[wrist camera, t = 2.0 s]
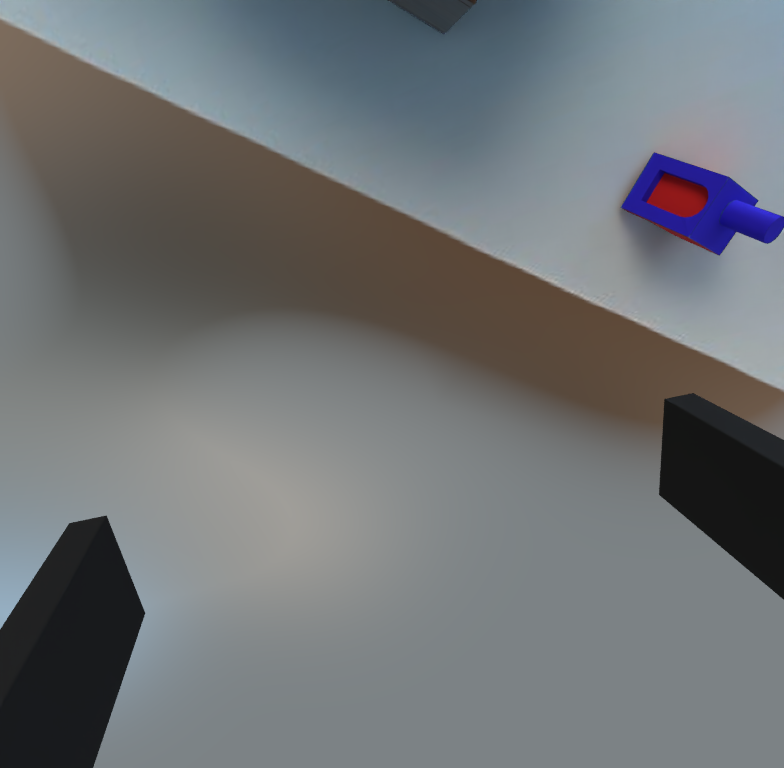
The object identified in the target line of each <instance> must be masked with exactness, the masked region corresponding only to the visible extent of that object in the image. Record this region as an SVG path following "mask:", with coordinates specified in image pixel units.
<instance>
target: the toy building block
mask: <svg viewBox="0 0 784 768" xmlns="http://www.w3.org/2000/svg"><path fill="white" fill-rule="evenodd" d="M757 202H758V200H757V199H756V198H755V197H753V196H752V195H751V194H750V193H748V192H747V191H746V190H745V189H743V188H742V187H741V186H740V185H738V184H737V183H736V182H735V181H733V180H732V179H731V178H730V177H727V176H724V175H721V174H718V173H715V172H712V171H709V170H706V169H703V168H700V167H697V166H694V165H691V164H688V163H685V162H682V161H679V160H676V159H673V158H670V157H666V156H663V155H660V154H657V153H653V155H652V156H651V158H650V160H649V161H648V163H647V165H646V166H645V168H644V170H643V171H642V173H641V175H640V176H639V178H638V180H637V181H636V183H635V185H634V186H633V188H632V190H631V191H630V193H629V195H628V196H627V198H626V200H625V201H624V203H623V204H622V206H621V208H622V209H624V210H626V211H627V212H630V213H632V214H634V215H636V216H639V217H641V218H643V219H645V220H648V221H650V222H651V223H653V224H655V225H657V226H659V227H660V228H662V229H664V230H666V231H667V232H669V233H671V234H673V235H675V236H677V237H679V238H681V239H684V240H686V241H688V242H690V243H693V244H695V245H697V246H699V247H701V248H704V249H706V250H708V251H710V252H713V253H715V254H717V255H719V256H720V254H721V253H722V251H723V250H724V249H725V247H726V246H727V244H728V243H729V241H730V240H731V239H732V237H733V236H734V234H735V233H736V232H739V233H741V234H744V235H746V236H749V237H751V238H754V239H756V240H759V241H761V242H764V243H767V244H768V243H771V242H772V241H774V240H775V239H776V238H777V237H778V236H779V234H780V233H781V232H782V230H783V228H784V217H783V216H780V215H777V214H774V213H771V212H769V211H766V210H763V209H760V208H757V207H755V205H756V203H757Z"/></svg>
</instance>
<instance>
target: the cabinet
mask: <svg viewBox="0 0 784 768" xmlns="http://www.w3.org/2000/svg"><path fill="white" fill-rule="evenodd" d="M388 1H390V2H391V3H393V4H395V5H396V6H398V7H400V8H401V9H403V10H404V11H406V12H408V13H409V14H411V15H413V16H414V17H416V18H417V19H419V20H421V21H422V22H424V23H426V24H427V25H429V26H431V27H432V28H434V29H435V30H437V31H439V32H440V33H442V34H445V33H447V32H448V31H449V30H450V29H451V28H452V27H453V26H454V25H455V24H456V23H457V21H458V20H459V19H460V18H461V17H462V16H463V15H464V14H465V13H466V12H467V11H468V10H469V9H470V8H471V7H472V6H473V5H474V4H475V3H476V1H477V0H388Z"/></svg>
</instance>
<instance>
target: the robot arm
mask: <svg viewBox="0 0 784 768" xmlns="http://www.w3.org/2000/svg"><path fill="white" fill-rule="evenodd" d="M664 401H665V402H664V418H663V436H662V453H661V471H660V488H659V495H660V496H661V497H662V498H664V499H665V500H666V501H667V502H668V503H670V504H671V505H672V506H673V507H674V508H676V509H677V510H678V511H679V512H680V513H681V514H683V515H684V516H685V517H686V518H687V519H689V520H690V521H691V522H692V523H694V524H695V525H696V526H697V527H698V528H699V529H701V530H702V531H703V532H704V533H705V534H707V535H708V536H709V537H710V538H712V540H714V541H715V542H716V543H717V544H718V545H720V546H721V547H722V548H723V549H724V550H725V551H727V552H728V553H729V554H730V555H731V556H733V557H734V558H735V559H736V560H737V561H738V562H740V563H741V564H742V565H743V566H744V567H746V568H747V569H748V570H749V571H750V572H752V573H753V574H754V575H755V576H756V577H758V578H759V579H760V580H761V581H762V582H763V583H765V584H766V585H767V586H768V587H769V588H771V589H772V590H773V591H774V592H775V593H777V594H778V595H779V596H780V597H782V598H783V599H784V440H782V439H780V438H779V437H776V436H775V435H773V434H771V433H769V432H767V431H765V430H763V429H761V428H759V427H757V426H755V425H753V424H751V423H750V422H748V421H746V420H744V419H742V418H740V417H738V416H736V415H734V414H732V413H730V412H728V411H727V410H725V409H723V408H721V407H719V406H717V405H715V404H713V403H711V402H709V401H707V400H705V399H703V398H701V397H700V396H698V395H696V394H694V393H692V394H688V395H682V396H677V397H673V398H668V399H665V400H664ZM144 615H145V612H144V609H143V607H142V604H141V602H140V599H139V596H138V594H137V591H136V589H135V586H134V584H133V582H132V579H131V576H130V574H129V572H128V569H127V566H126V564H125V561H124V559H123V556H122V554H121V551H120V548H119V546H118V543H117V542H116V538H115V536H114V533H113V531H112V528H111V526H110V523H109V521H108V518H107V516H102V517H98V518H92V519H88V520H83V521H78V522H73V523H69V525H68V526H67V528H66V529H65V531H64V532H63V534H62V535H61V537H60V539H59V540H58V542H57V543H56V545H55V546H54V548H53V549H52V551H51V552H50V554H49V555H48V557H47V558H46V560H45V562H44V563H43V565H42V566H41V568H40V569H39V571H38V572H37V574H36V575H35V577H34V579H33V580H32V582H31V583H30V585H29V586H28V588H27V589H26V591H25V592H24V594H23V595H22V597H21V598H20V600H19V602H18V603H17V605H16V606H15V608H14V609H13V611H12V612H11V614H10V615H9V617H8V618H7V620H6V622H5V623H4V625H3V627H2V628H1V629H0V768H93V766H94V763H95V760H96V757H97V754H98V751H99V748H100V745H101V742H102V739H103V737H104V734H105V731H106V728H107V724H108V722H109V719H110V716H111V712H112V710H113V707H114V704H115V701H116V698H117V695H118V692H119V689H120V686H121V683H122V680H123V677H124V674H125V671H126V668H127V665H128V662H129V660H130V657H131V654H132V651H133V648H134V645H135V642H136V639H137V636H138V633H139V630H140V627H141V624H142V621H143V618H144Z"/></svg>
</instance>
